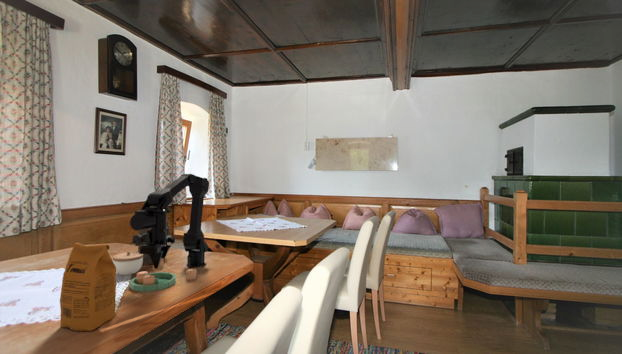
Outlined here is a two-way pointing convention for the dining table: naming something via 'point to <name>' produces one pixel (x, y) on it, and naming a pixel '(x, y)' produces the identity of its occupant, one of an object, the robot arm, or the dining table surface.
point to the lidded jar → (128, 262)
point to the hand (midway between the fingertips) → (158, 266)
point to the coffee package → (88, 288)
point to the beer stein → (145, 256)
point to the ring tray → (161, 282)
